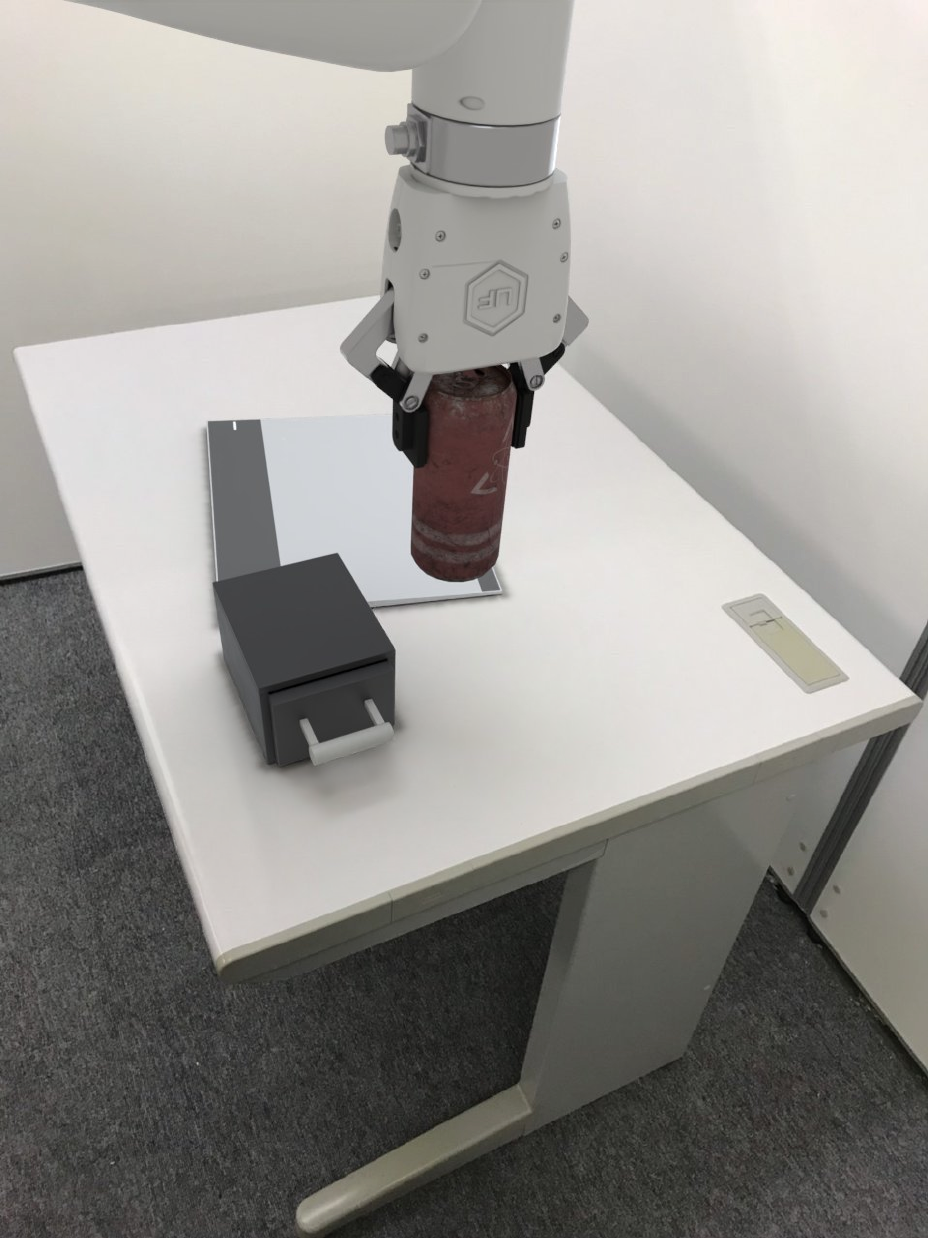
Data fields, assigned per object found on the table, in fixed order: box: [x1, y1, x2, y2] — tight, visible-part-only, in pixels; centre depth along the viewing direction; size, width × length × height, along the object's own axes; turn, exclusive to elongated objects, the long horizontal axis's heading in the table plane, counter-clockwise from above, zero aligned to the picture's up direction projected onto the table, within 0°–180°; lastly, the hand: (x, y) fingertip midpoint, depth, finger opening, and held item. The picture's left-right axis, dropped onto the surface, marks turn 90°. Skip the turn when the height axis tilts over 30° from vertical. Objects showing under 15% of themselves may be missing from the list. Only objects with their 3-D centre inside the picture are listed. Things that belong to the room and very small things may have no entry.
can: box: [411, 364, 517, 582], centre depth 63 cm, size 6×6×14 cm
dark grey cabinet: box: [211, 553, 397, 765], centre depth 76 cm, size 12×10×8 cm
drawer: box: [268, 661, 395, 767], centre depth 74 cm, size 15×9×7 cm, turn 26°
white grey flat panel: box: [205, 413, 503, 608], centre depth 98 cm, size 32×26×1 cm
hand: (461, 444), depth 61 cm, fingers closed on can, 6 cm apart
